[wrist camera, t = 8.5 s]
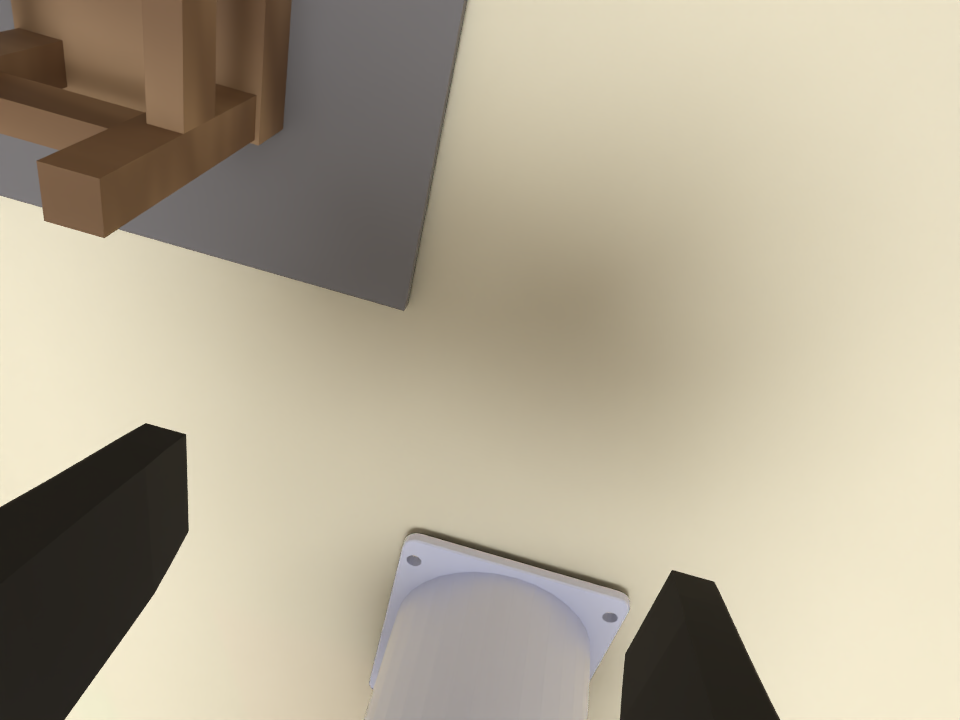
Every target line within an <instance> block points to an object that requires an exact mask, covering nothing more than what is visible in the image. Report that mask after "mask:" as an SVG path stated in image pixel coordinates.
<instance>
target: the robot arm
mask: <svg viewBox="0 0 960 720" xmlns="http://www.w3.org/2000/svg"><path fill="white" fill-rule="evenodd" d="M188 531H189V526H188V489H187V451H186V434H183V433H179V432H176V431H172V430H168V429H165V428H161V427H158V426H154V425H150V424H147V423H145V424H144V425H142V426H140V427H138V428H136V429H135V430H133V431H131V432H129V433H128V434H126V435H124V436H122V437H121V438H119V439H117V440H115V441H114V442H112V443H110V444H109V445H107V446H105V447H104V448H102V449H100V450H98V451H97V452H95V453H93V454H92V455H90V456H88V457H87V458H85V459H83V460H82V461H80V462H78V463H76V464H75V465H73V466H71V467H70V468H68V469H66V470H64V471H63V472H61V473H59V474H58V475H56V476H54V477H53V478H51V479H49V480H47V481H46V482H44V483H42V484H40V485H39V486H37V487H35V488H33V489H32V490H30V491H28V492H26V493H24V494H23V495H21V496H19V497H17V498H16V499H14V500H12V501H10V502H8V503H7V504H5V505H3V506H1V507H0V720H65V718H66V717H67V715H68V714H69V713H70V711H71V710H72V708H73V707H74V706H75V704H76V703H77V701H78V700H79V699H80V697H81V696H82V694H83V693H84V692H85V690H86V689H87V688H88V686H89V685H90V683H91V682H92V681H93V679H94V678H95V676H96V675H97V674H98V672H99V671H100V669H101V668H102V667H103V665H104V664H105V662H106V661H107V660H108V658H109V657H110V655H111V654H112V653H113V651H114V650H115V649H116V647H117V646H118V644H119V643H120V642H121V640H122V639H123V637H124V636H125V634H126V633H127V632H128V630H129V629H130V627H131V626H132V625H133V623H134V622H135V620H136V619H137V618H138V616H139V615H140V613H141V612H142V610H143V609H144V608H145V606H146V605H147V603H148V602H149V600H150V599H151V598H152V596H153V595H154V593H155V591H156V590H157V588H158V586H159V584H160V582H161V581H162V579H163V577H164V575H165V574H166V572H167V570H168V568H169V567H170V565H171V563H172V561H173V559H174V557H175V555H176V554H177V552H178V550H179V548H180V546H181V544H182V542H183V540H184V539H185V537H186V535H187V533H188ZM412 555H414V556H412ZM415 556H417V557H415ZM629 609H630V600H629V598H628V596H627V595H626V594H624V593H622V592H620V591H617V590H614V589H610V588H607V587H603V586H600V585H596V584H593V583H589V582H586V581H582V580H579V579H576V578H572V577H569V576H565V575H562V574H558V573H555V572H551V571H548V570H544V569H541V568H538V567H534V566H531V565H527V564H524V563H520V562H517V561H513V560H510V559H506V558H503V557H500V556H496V555H493V554H489V553H486V552H482V551H479V550H475V549H472V548H468V547H465V546H462V545H458V544H455V543H451V542H448V541H444V540H441V539H437V538H434V537H430V536H427V535H424V534H419V533H414V534H410V535H408V536H407V537H406V539H405V541H404V544H403V547H402V551H401V555H400V559H399V563H398V567H397V571H396V575H395V579H394V584H393V588H392V592H391V596H390V600H389V604H388V608H387V612H386V616H385V620H384V624H383V628H382V632H381V636H380V640H379V644H378V649H377V653H376V657H375V661H374V665H373V669H372V673H371V677H370V681H369V685H370V687H371V688H372V689H373V692H372V695H371V698H370V701H369V705H368V708H367V711H366V714H365V717H364V720H588V701H589V682H590V680H591V678H592V676H593V675H594V673H595V671H596V669H597V667H598V666H599V664H600V662H601V660H602V659H603V657H604V655H605V653H606V651H607V650H608V648H609V646H610V644H611V643H612V641H613V639H614V637H615V635H616V634H617V632H618V630H619V628H620V627H621V625H622V623H623V621H624V619H625V618H626V616H627V614H628V612H629ZM608 612H609V613H608ZM620 720H780V719H779V717H778V715H777V713H776V711H775V709H774V707H773V705H772V703H771V701H770V699H769V697H768V695H767V693H766V691H765V688H764V686H763V684H762V682H761V680H760V678H759V676H758V674H757V672H756V670H755V668H754V666H753V663H752V661H751V659H750V657H749V655H748V653H747V651H746V649H745V646H744V644H743V642H742V640H741V638H740V636H739V634H738V631H737V629H736V627H735V625H734V623H733V620H732V618H731V616H730V614H729V612H728V610H727V607H726V605H725V603H724V601H723V599H722V597H721V594H720V592H719V590H718V588H717V586H716V585H715V583H714V582H713V581H709V580H706V579H702V578H699V577H695V576H691V575H688V574H684V573H681V572H677V571H674V570H672V571H671V573H670V575H669V577H668V578H667V580H666V582H665V584H664V585H663V587H662V589H661V591H660V593H659V594H658V596H657V598H656V600H655V602H654V603H653V605H652V607H651V609H650V611H649V612H648V614H647V616H646V618H645V620H644V621H643V623H642V625H641V627H640V629H639V630H638V632H637V634H636V636H635V638H634V639H633V641H632V643H631V645H630V647H629V648H628V650H627V652H626V654H625V663H624V675H623V686H622V699H621V714H620Z"/></svg>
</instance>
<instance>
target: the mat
mask: <svg viewBox="0 0 960 720" xmlns="http://www.w3.org/2000/svg"><path fill="white" fill-rule="evenodd" d="M466 4H467V0H292V5H291V20H290V34H289V49H288V64H287V78H286V93H285V108H284V123H283V129H282V130H281V131H279V132H278V133H277V134H275V135H274V136H272V137H271V138H269V139H268V140H266V141H265V142H263V143H262V144H260V145H259V146H258V145H255V144H251V143H249V144H248V145H246V146H245V147H243V148H242V149H240V150H239V151H237V152H235V153H234V154H232V155H231V156H229V157H228V158H226V159H225V160H223V161H222V162H220V163H219V164H217V165H215V166H214V167H212V168H211V169H209V170H208V171H206V172H205V173H203V174H202V175H200V176H199V177H197V178H196V179H194V180H192V181H191V182H189V183H188V184H186V185H185V186H183V187H182V188H180V189H179V190H177V191H176V192H174V193H173V194H171V195H169V196H168V197H166V198H165V199H163V200H162V201H160V202H159V203H157V204H156V205H154V206H153V207H151V208H149V209H148V210H146V211H145V212H143V213H142V214H140V215H139V216H137V217H136V218H134V219H133V220H131V221H130V222H128V223H126V224H125V225H123V226H122V227H120V228H119V229H120V230H123V231H127V232H130V233H134V234H137V235H141V236H144V237H148V238H151V239H155V240H158V241H162V242H165V243H169V244H172V245H176V246H179V247H183V248H186V249H190V250H193V251H197V252H200V253H204V254H207V255H211V256H214V257H218V258H221V259H225V260H228V261H232V262H235V263H239V264H242V265H246V266H249V267H253V268H256V269H260V270H263V271H267V272H270V273H274V274H277V275H281V276H284V277H288V278H291V279H295V280H298V281H302V282H305V283H309V284H312V285H316V286H319V287H323V288H326V289H330V290H333V291H337V292H340V293H344V294H347V295H351V296H354V297H358V298H361V299H365V300H368V301H372V302H375V303H379V304H382V305H386V306H389V307H393V308H396V309H400V310H403V311H404V310H405V308H406V307H407V305H408V301H409V296H410V291H411V286H412V280H413V275H414V270H415V265H416V260H417V255H418V250H419V245H420V240H421V234H422V229H423V224H424V219H425V214H426V209H427V204H428V199H429V193H430V188H431V183H432V178H433V173H434V168H435V163H436V158H437V152H438V147H439V142H440V137H441V132H442V127H443V122H444V117H445V112H446V106H447V101H448V96H449V91H450V86H451V81H452V76H453V71H454V65H455V60H456V55H457V50H458V45H459V40H460V35H461V30H462V24H463V19H464V14H465V9H466ZM12 29H15V28H14V21H13V13H12V6H11V0H0V32H2V31H7V30H12ZM57 151H59V150H56V149H53V148H49V147H46V146H42V145H39V144H35V143H32V142H28V141H25V140H21V139H18V138H14V137H11V136H7V135H4V134H0V196H4V197H7V198H11V199H14V200H18V201H21V202H25V203H28V204H32V205H35V206H39V207H42V200H41V192H40V185H39V177H38V170H37V162H36V161H37V160H39V159H41V158H44V157H46V156H48V155H50V154H53V153H55V152H57Z"/></svg>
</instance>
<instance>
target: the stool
mask: <svg viewBox="0 0 960 720" xmlns="http://www.w3.org/2000/svg"><path fill="white" fill-rule="evenodd" d="M291 5H292V0H11V6H12V13H13V21H14V28H15V29H12V30H7V31H2V32H0V134H4V135H7V136H11V137H14V138H18V139H21V140H25V141H28V142H32V143H35V144H39V145H42V146H46V147H49V148H53V149H56V150H59V151H57V152H55V153H53V154H50V155H48V156H46V157H44V158H41V159H39V160H37V161H36V162H37V170H38V177H39V185H40V192H41V200H42V207H43V215H44V221H47V222H50V223H54V224H57V225H61V226H64V227H68V228H71V229H75V230H78V231H82V232H85V233H89V234H92V235H96V236H99V237H103V238H105V237H107V236H108V235H110V234H111V233H113V232H114V231H116V230H117V229H119V228H120V227H122V226H123V225H125V224H126V223H128V222H130V221H131V220H133V219H134V218H136V217H137V216H139V215H140V214H142V213H143V212H145V211H146V210H148V209H149V208H151V207H153V206H154V205H156V204H157V203H159V202H160V201H162V200H163V199H165V198H166V197H168V196H169V195H171V194H173V193H174V192H176V191H177V190H179V189H180V188H182V187H183V186H185V185H186V184H188V183H189V182H191V181H192V180H194V179H196V178H197V177H199V176H200V175H202V174H203V173H205V172H206V171H208V170H209V169H211V168H212V167H214V166H215V165H217V164H219V163H220V162H222V161H223V160H225V159H226V158H228V157H229V156H231V155H232V154H234V153H235V152H237V151H239V150H240V149H242V148H243V147H245V146H246V145H248V144H249V143H251V144H255V145H258V146H259V145H260V144H262V143H263V142H265V141H266V140H268V139H269V138H271V137H272V136H274V135H275V134H277V133H278V132H279V131H281V130H282V129H283V123H284V108H285V93H286V78H287V64H288V49H289V34H290V20H291Z"/></svg>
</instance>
